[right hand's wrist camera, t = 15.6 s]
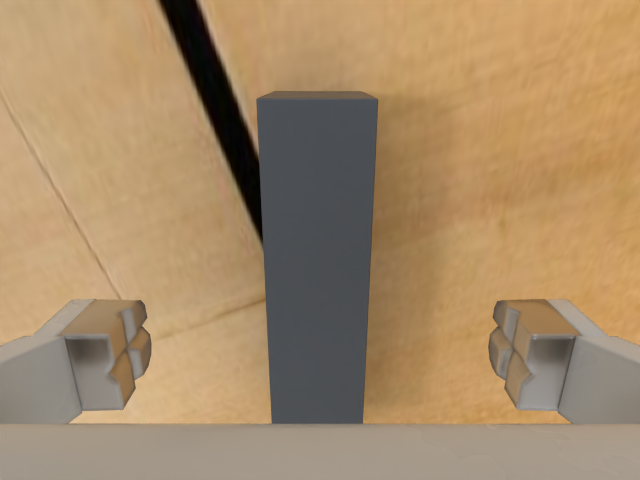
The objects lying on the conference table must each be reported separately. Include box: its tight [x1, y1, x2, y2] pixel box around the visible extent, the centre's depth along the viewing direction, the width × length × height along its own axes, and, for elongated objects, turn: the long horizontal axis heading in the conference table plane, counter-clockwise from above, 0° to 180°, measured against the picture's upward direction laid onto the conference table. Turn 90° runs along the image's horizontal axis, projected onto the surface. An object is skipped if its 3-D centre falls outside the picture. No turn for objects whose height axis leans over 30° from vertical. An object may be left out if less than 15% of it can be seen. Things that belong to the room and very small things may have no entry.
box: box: [257, 91, 378, 424], centre depth 31 cm, size 26×6×9 cm, turn 0°
